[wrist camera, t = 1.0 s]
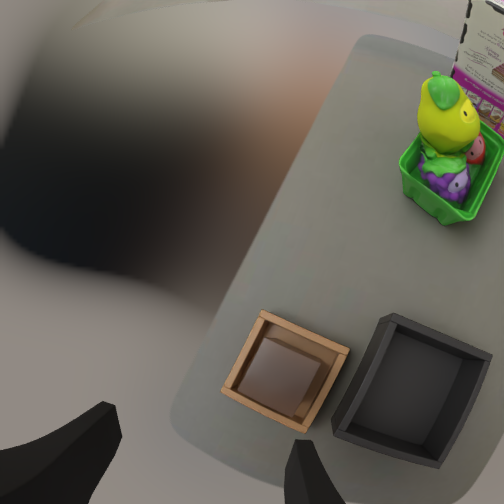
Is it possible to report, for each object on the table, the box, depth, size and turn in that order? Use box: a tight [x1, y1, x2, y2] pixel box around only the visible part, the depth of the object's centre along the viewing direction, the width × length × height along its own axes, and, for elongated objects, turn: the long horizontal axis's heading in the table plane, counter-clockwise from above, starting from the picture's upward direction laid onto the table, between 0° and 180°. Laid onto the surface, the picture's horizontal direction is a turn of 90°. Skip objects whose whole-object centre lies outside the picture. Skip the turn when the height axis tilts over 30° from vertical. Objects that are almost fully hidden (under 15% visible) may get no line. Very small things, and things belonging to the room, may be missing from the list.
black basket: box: [331, 313, 493, 469], centre depth 18 cm, size 9×9×4 cm
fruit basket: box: [399, 71, 504, 226], centre depth 19 cm, size 11×9×11 cm
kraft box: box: [220, 309, 350, 434], centre depth 22 cm, size 7×7×2 cm
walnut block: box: [237, 337, 321, 417], centre depth 20 cm, size 4×4×5 cm
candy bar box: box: [450, 0, 504, 139], centre depth 17 cm, size 11×5×16 cm, turn 56°
